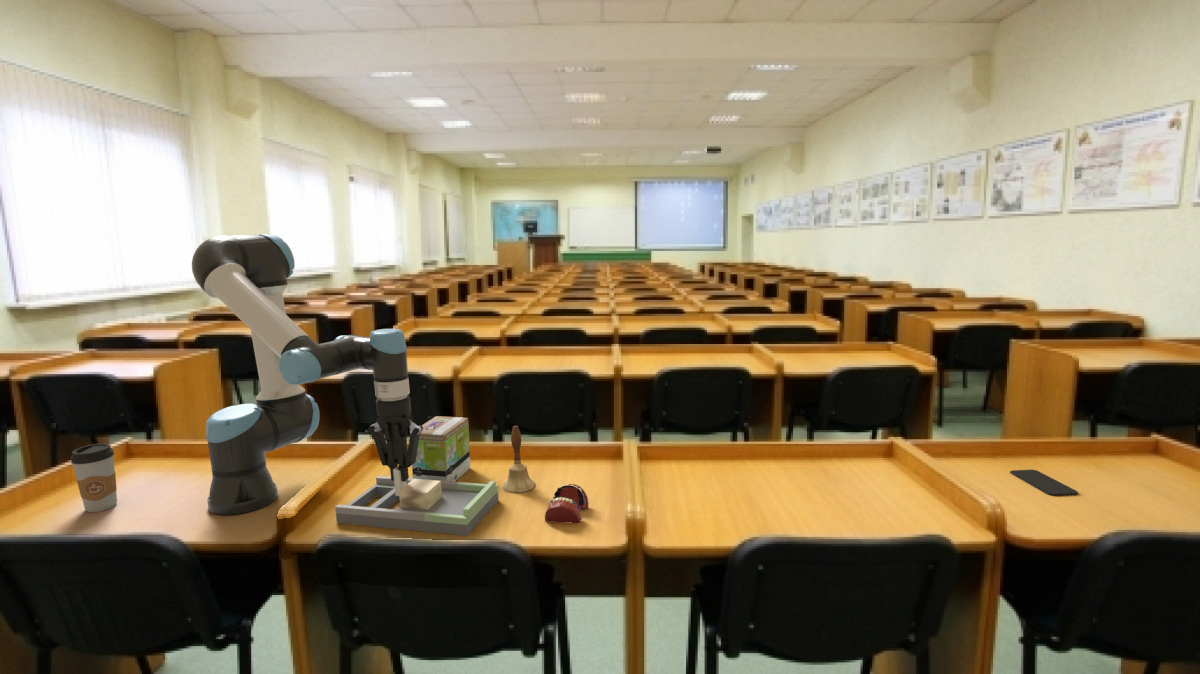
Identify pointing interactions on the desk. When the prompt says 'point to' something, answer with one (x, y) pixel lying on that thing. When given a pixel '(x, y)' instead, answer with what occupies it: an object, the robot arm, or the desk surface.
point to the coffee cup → (95, 476)
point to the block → (420, 494)
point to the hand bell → (517, 468)
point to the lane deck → (447, 515)
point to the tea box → (443, 449)
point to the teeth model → (567, 504)
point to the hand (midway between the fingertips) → (401, 493)
